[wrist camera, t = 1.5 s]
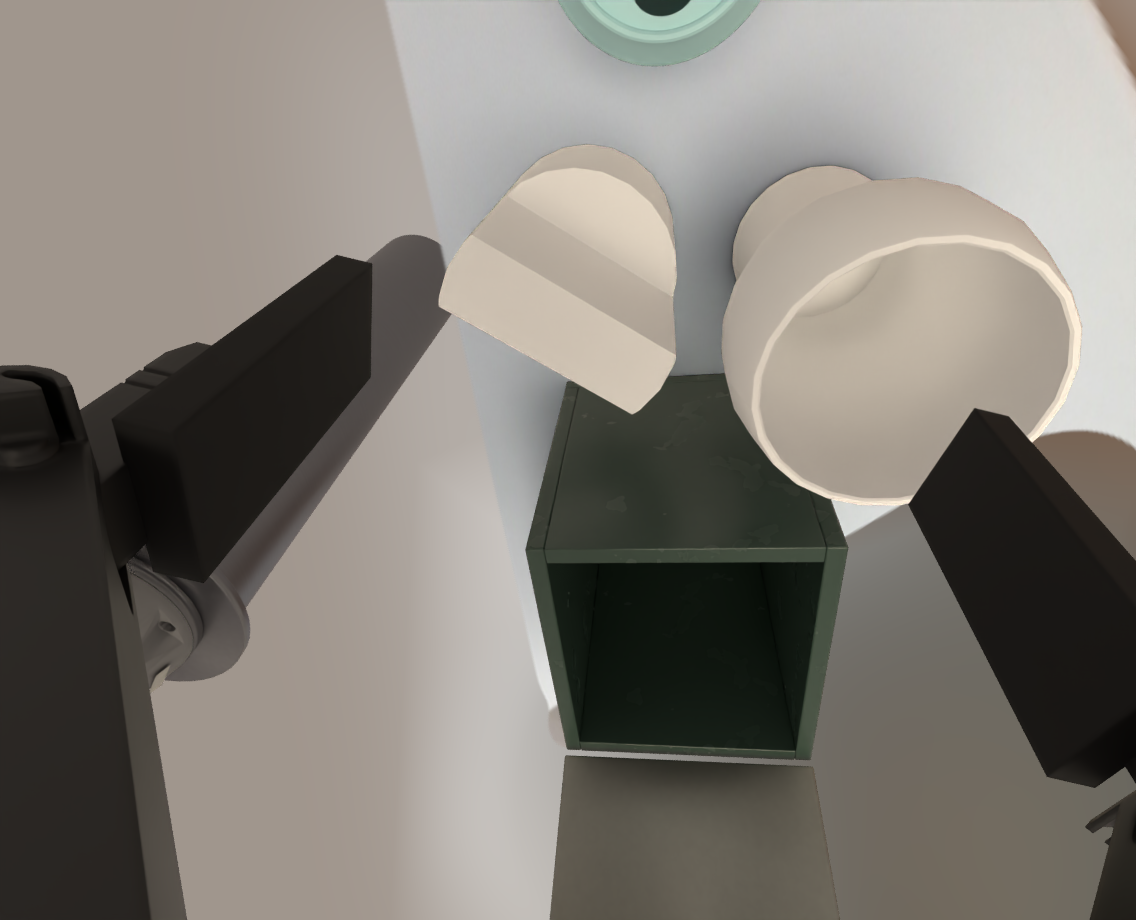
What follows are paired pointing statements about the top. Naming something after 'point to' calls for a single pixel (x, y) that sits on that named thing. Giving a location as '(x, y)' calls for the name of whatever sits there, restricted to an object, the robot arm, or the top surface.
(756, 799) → the bin lid
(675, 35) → the can
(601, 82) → the top surface
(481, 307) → the base with upright slab
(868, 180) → the cup
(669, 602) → the bin
